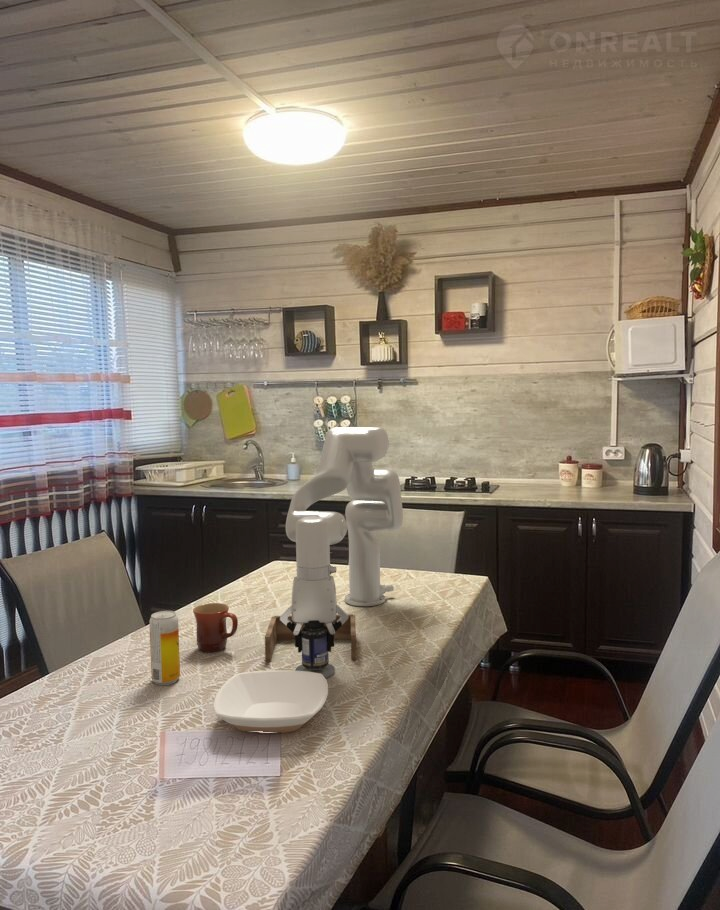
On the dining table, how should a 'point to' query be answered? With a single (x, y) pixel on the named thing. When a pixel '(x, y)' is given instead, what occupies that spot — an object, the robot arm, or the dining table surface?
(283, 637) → the u-shaped wooden arch
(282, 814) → the dining table surface
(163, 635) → the beer can
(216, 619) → the mug
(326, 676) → the slate coaster
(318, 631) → the pill bottle
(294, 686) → the bowl
